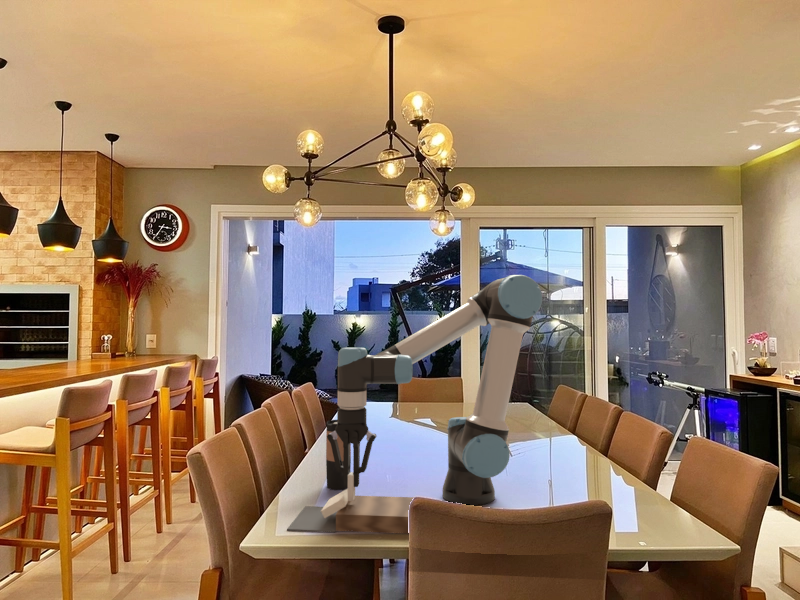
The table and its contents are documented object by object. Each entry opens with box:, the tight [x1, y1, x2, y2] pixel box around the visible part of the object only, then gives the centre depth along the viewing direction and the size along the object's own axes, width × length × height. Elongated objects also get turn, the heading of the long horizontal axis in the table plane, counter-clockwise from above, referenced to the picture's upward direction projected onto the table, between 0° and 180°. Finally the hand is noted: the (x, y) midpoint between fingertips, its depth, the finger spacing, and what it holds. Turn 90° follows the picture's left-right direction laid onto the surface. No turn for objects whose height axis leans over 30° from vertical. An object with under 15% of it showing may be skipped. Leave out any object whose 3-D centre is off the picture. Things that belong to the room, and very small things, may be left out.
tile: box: [321, 488, 348, 518], centre depth 134 cm, size 6×9×2 cm
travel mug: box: [325, 419, 352, 491], centre depth 161 cm, size 8×8×20 cm
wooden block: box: [336, 495, 415, 535], centre depth 132 cm, size 20×14×4 cm
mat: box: [286, 505, 338, 534], centre depth 134 cm, size 12×16×1 cm
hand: (351, 499), depth 133 cm, fingers closed
